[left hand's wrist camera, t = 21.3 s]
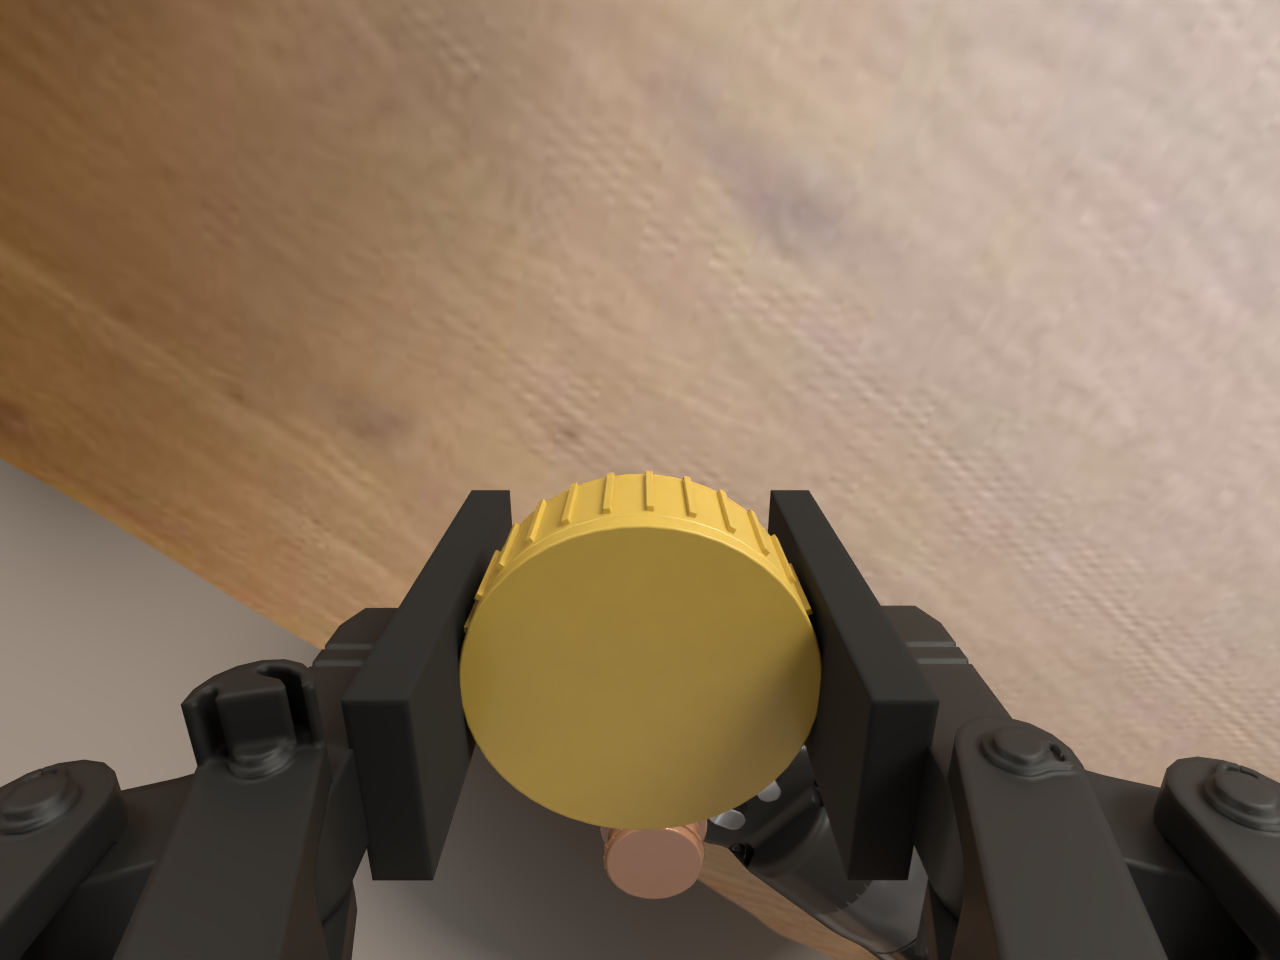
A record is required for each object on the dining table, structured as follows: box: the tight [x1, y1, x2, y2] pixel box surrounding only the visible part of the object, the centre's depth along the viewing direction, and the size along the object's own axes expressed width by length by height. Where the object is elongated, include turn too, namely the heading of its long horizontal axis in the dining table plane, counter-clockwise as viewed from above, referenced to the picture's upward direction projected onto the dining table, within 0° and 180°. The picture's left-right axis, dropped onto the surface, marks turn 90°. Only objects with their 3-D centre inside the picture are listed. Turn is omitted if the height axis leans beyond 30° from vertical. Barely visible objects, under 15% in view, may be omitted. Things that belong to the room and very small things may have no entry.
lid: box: [459, 471, 822, 830], centre depth 11 cm, size 5×5×2 cm
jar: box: [600, 819, 707, 899], centre depth 35 cm, size 4×4×16 cm
